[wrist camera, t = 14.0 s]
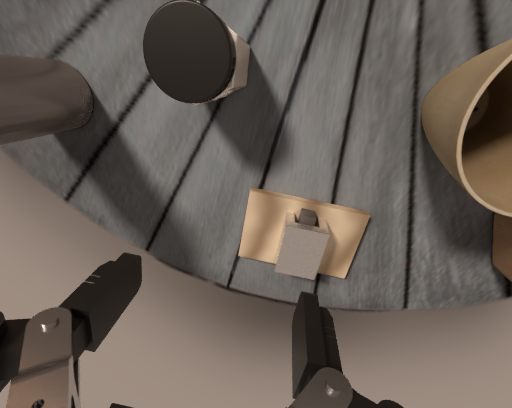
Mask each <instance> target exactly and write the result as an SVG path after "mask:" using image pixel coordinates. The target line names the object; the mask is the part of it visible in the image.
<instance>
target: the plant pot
mask: <svg viewBox="0 0 512 408" xmlns="http://www.w3.org/2000/svg"><path fill="white" fill-rule="evenodd" d="M474 108H477V110H475V111H474V110H473V109H474ZM421 119H422V125H423V128H424V132H425V134H426V137H427V139H428V141H429V144H430V145H431V147H432V149H433V151H434V152H435V154H436V156H437V157H438V159H439V160H440V161H441V163H442V164H443V166H444V167H445V168H446V169H447V171H448V172H449V173H450V174H451V175H452V176H453V178H454V179H455V180H456V181H457V182H458V183H459V184H460V185H461V186H462V187H463V188H464V189H465V190H466V191H467V192H468V193H469V194H470V195H471V196H472V197H473V198H474V199H475V200H476V201H477V202H478V203H480V204H481V205H483V206H484V207H486V208H488V209H490V210H492V211H494V212H496V213H499V214H501V215H505V216H509V217H512V39H511V40H508V41H506V42H504V43H501V44H499V45H497V46H495V47H493V48H491V49H489V50H487V51H485V52H483V53H481V54H479V55H477V56H476V57H474V58H472V59H470V60H469V61H467V62H465V63H464V64H462V65H460V66H459V67H457V68H456V69H454V70H453V71H451V72H450V73H449V74H447V75H446V76H445V77H444V78H442V79H441V80H440V81H439V82H438V83H437V84H436V85H435V86H434V87H433V88H432V89H431V90H430V91H429V92H428V94H427V95H426V97H425V99H424V101H423V104H422V108H421Z"/></svg>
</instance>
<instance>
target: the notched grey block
mask: <svg viewBox="0 0 512 408" xmlns="http://www.w3.org/2000/svg"><path fill="white" fill-rule="evenodd" d="M329 236H330V234H329V230H328V226H327V222H326V219H322V218H318V219H317V222H316V225H315V226H310V225H305V224H301V223H296V222H295V216H294V213H293V212H288V211H286V215H285V219H284V223H283V227H282V231H281V235H280V239H279V243H278V247H277V251H276V258H275V271H274V272H279V273H284V274H288V275H293V276H298V277H302V278H307V279H312V280H314V279H315V276H316V273H317V271H318V268H319V265H320V262H321V259H322V256H323V253H324V250H325V247H326V244H327V242H328V239H329Z"/></svg>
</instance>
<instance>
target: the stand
mask: <svg viewBox="0 0 512 408" xmlns="http://www.w3.org/2000/svg"><path fill="white" fill-rule="evenodd" d="M286 211H288V212H293V213H294V216H295V222H296V223H301V224H305V225H310V226H315V225H316V222H317V219H318V218H322V219H326V222H327V226H328V230H329V234H330V236H329V239H328V242H327V244H326V247H325V250H324V253H323V256H322V259H321V262H320V265H319V268H318V271H317V273H321V274H325V275H330V276H335V277H339V278H344V279H345V276H346V274H347V271H348V269H349V267H350V264H351V262H352V259H353V257H354V254H355V252H356V250H357V247H358V245H359V242H360V240H361V237H362V235H363V232H364V230H365V228H366V225H367V223H368V220H369V218H370V214H369V213H368V211H364V210H359V209H354V208H349V207H344V206H339V205H334V204H330V203H325V202H320V201H315V200H310V199H305V198H301V197H296V196H291V195H286V194H281V193H276V192H272V191H267V190H262V189H257V188H252V187H251V190H250V195H249V200H248V206H247V211H246V217H245V223H244V228H243V234H242V239H241V245H240V250H239V256H241V257H246V258H251V259H255V260H260V261H265V262H269V263H274V264H275V258H276V251H277V247H278V243H279V239H280V235H281V231H282V227H283V223H284V219H285V215H286Z"/></svg>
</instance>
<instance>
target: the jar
mask: <svg viewBox="0 0 512 408" xmlns="http://www.w3.org/2000/svg"><path fill="white" fill-rule="evenodd" d="M143 53H144V59H145V63H146V66H147V69H148V71H149V73H150V75H151V77H152V79H153V80H154V82H155V83H156V84H157V86H158V87H159V88H160V89H161V90H162V91H163V92H164V93H166V94H167V95H168V96H170V97H171V98H173V99H175V100H178V101H181V102H185V103H192V104H193V105H199V104H203V103H207V102H211V101H214V100H218V99H220V98H222V97H225V96H227V95H229V94H230V93H233V92H235V91H237V90H239V89H241V88H243V87H245V86H246V85H247V76H248V66H249V55H250V45H249V44H247V43H246V42H245V41H244V40H243V39H242V38H241V37H239V36H238V35H237V34H236V33H235V32H234V31H233V30H231V29H230V28H229V27H228V26H227V25H226V24H225V23H224V22H223V21H222V20H221V18H219V17H218V16H217V15H216V14H215V13H214V12H213V11H212V10H211V9H209V8H208V7H207V6H205V5H203V4H201V3H200V2H199V1H194V0H173V1H170V2H167V3H166V4H164V5H162V6H161V7H160V8H158V9H157V10H156V11H155V13H154V14H153V15H152V16H151V18H150V20H149V22H148V24H147V26H146V29H145V33H144V39H143Z"/></svg>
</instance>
